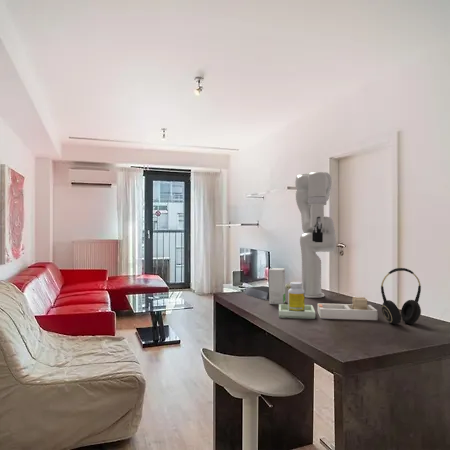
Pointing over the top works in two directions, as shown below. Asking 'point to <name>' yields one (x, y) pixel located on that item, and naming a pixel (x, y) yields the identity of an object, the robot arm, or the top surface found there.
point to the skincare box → (277, 286)
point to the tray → (296, 312)
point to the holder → (346, 312)
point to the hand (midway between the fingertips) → (317, 241)
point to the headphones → (409, 309)
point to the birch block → (360, 303)
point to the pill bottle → (296, 297)
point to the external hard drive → (258, 292)
